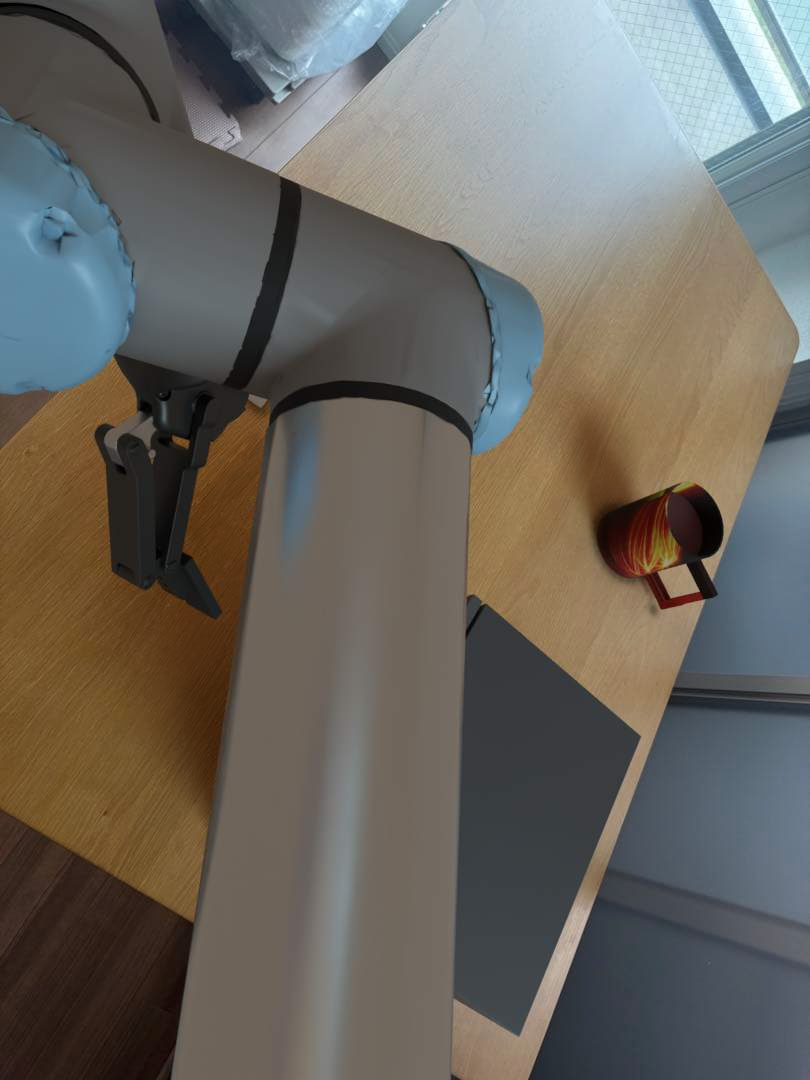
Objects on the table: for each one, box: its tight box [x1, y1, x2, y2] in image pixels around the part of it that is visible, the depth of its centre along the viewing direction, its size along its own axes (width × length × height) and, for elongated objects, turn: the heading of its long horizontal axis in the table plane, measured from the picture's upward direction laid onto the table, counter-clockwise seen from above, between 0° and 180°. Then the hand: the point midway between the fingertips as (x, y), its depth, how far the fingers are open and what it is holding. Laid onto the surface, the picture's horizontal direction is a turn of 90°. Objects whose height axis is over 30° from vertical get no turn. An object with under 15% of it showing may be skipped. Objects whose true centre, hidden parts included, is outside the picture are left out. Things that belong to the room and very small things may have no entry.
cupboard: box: [454, 603, 642, 1038], centre depth 64 cm, size 18×24×24 cm
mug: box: [596, 481, 725, 611], centre depth 94 cm, size 10×14×12 cm
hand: (265, 539), depth 54 cm, fingers open, 13 cm apart
